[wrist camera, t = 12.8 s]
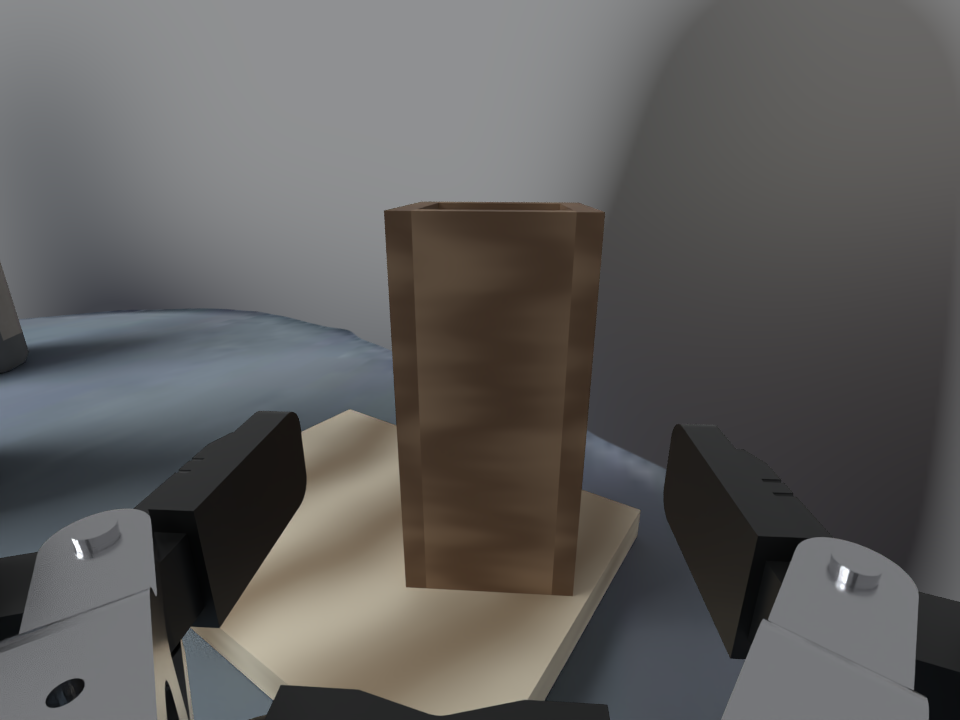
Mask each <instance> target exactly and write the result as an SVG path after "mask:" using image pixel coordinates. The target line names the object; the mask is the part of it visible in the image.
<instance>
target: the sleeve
mask: <svg viewBox="0 0 960 720" xmlns="http://www.w3.org/2000/svg"><path fill="white" fill-rule="evenodd" d="M384 217H385V234H386V253H387V269H388V286H389V302H390V322H391V338H392V356H393V373H394V391H395V408H396V425H397V442H398V460H399V477H400V494H401V511H402V529H403V546H404V563H405V580H406V587H409V588H428V589H446V590H465V591H484V592H502V593H521V594H540V595H558V596H573V587H574V575H575V563H576V552H577V540H578V528H579V516H580V504H581V492H582V480H583V469H584V457H585V445H586V433H587V421H588V409H589V397H590V385H591V374H592V362H593V350H594V338H595V326H596V314H597V302H598V290H599V279H600V267H601V255H602V242H603V231H604V218H605V212H603V211H600V210H597V209H594V208H592V207H589V206H586V205H583V204H581V203H539V202H538V203H535V202H534V203H533V202H531V203H530V202H526V203H525V202H419V203H414V204H410V205H406V206H402V207H397V208H393V209H389V210H385V211H384Z"/></svg>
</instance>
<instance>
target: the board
mask: <svg viewBox="0 0 960 720" xmlns="http://www.w3.org/2000/svg"><path fill="white" fill-rule="evenodd" d="M301 435H302V443H303V451H304V458H305V466H306V474H307V485H306V492H305V496H304V499H303V501H302V504H301V505H300V507H299V508H298V510H297V511H296V513H295V514H294V516H293V518H292V519H291V521H290V522H289V524H288V525H287V527H286V528H285V530H284V531H283V533H282V534H281V536H280V537H279V539H278V540H277V542H276V543H275V545H274V546H273V548H272V549H271V551H270V553H269V554H268V556H267V557H266V559H265V560H264V562H263V563H262V565H261V566H260V568H259V569H258V571H257V572H256V574H255V575H254V577H253V578H252V580H251V581H250V583H249V584H248V586H247V587H246V589H245V591H244V592H243V594H242V595H241V597H240V598H239V600H238V601H237V603H236V604H235V606H234V607H233V609H232V610H231V612H230V613H229V615H228V616H227V618H226V619H225V621H224V622H223V624H222V626H221V627H220V628H205V627H190V628H192V629H193V630H194V631H195V632H196V633H197V634H198V635H200V636H201V637H202V638H203V639H204V640H205V641H206V642H208V643H209V644H210V645H211V646H212V647H213V648H214V649H215V650H217V651H218V652H219V653H220V654H221V655H222V656H223V657H225V658H226V659H227V660H228V661H229V662H230V663H231V664H233V665H234V666H235V667H236V668H237V669H238V670H239V671H240V672H242V673H243V674H244V675H245V676H246V677H247V678H248V679H250V680H251V681H252V682H253V683H254V684H255V685H256V686H258V687H259V688H260V689H261V690H262V691H263V692H264V693H265V694H267V695H268V696H269V697H270V698H271V699H272V700H274V698H275V696H276V694H277V692H278V690H279V687H280V685H293V686H310V687H326V688H342V689H359V690H362V691H365V692H367V693H370V694H373V695H376V696H379V697H382V698H385V699H388V700H390V701H393V702H396V703H399V704H402V705H405V706H408V707H411V708H414V709H416V710H419V711H422V712H425V713H428V714H432V715H438V716H443V715H450V714H455V713H460V712H465V711H470V710H475V709H480V708H485V707H490V706H495V705H500V704H505V703H510V702H515V701H520V700H539V701H544V700H545V699H546V697H547V695H548V693H549V692H550V690H551V688H552V686H553V685H554V683H555V681H556V679H557V677H558V676H559V674H560V672H561V670H562V669H563V667H564V665H565V663H566V661H567V660H568V658H569V656H570V654H571V653H572V651H573V649H574V647H575V645H576V644H577V642H578V640H579V638H580V637H581V635H582V633H583V631H584V629H585V628H586V626H587V624H588V622H589V621H590V619H591V617H592V615H593V613H594V612H595V610H596V608H597V606H598V605H599V603H600V601H601V599H602V597H603V596H604V594H605V592H606V590H607V589H608V587H609V585H610V583H611V581H612V580H613V578H614V576H615V574H616V573H617V571H618V569H619V567H620V566H621V564H622V562H623V560H624V558H625V557H626V555H627V553H628V551H629V550H630V548H631V546H632V544H633V542H634V541H635V539H636V537H637V534H638V526H639V518H640V511H641V510H639V509H636V508H633V507H630V506H627V505H625V504H622V503H619V502H616V501H613V500H610V499H607V498H604V497H601V496H599V495H596V494H593V493H590V492H587V491H584V490H582V492H581V504H580V516H579V528H578V540H577V552H576V563H575V575H574V587H573V596H558V595H540V594H521V593H502V592H484V591H465V590H446V589H428V588H409V587H406V580H405V563H404V546H403V529H402V511H401V494H400V477H399V460H398V442H397V425H394V424H391V423H388V422H385V421H382V420H379V419H376V418H374V417H371V416H368V415H365V414H362V413H359V412H356V411H353V410H350V409H349V410H347V411H345V412H343V413H341V414H339V415H336V416H334V417H332V418H330V419H328V420H326V421H324V422H321V423H319V424H317V425H315V426H313V427H311V428H309V429H306V430H304V431H302V432H301Z"/></svg>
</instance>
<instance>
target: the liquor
mask: <svg viewBox="0 0 960 720" xmlns="http://www.w3.org/2000/svg"><path fill="white" fill-rule="evenodd" d="M28 353H29V351H28V348H27V345H26V341H25V338H24V335H23V332H22V329H21V326H20V323H19V319H18V316H17V313H16V310H15V307H14V304H13V300H12V297H11V294H10V291H9V288H8V285H7V282H6V279H5V275H4V272H3V269H2V266H1V263H0V373H3V372H7V371H9V370H11V369H13V368H15V367H17V366H19V365H20V364H22V363H24V362H25V361H26V358H27V355H28Z"/></svg>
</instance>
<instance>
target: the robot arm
mask: <svg viewBox="0 0 960 720" xmlns="http://www.w3.org/2000/svg"><path fill="white" fill-rule="evenodd" d="M306 485H307V474H306V466H305V458H304V451H303V443H302V435H301V428H300V421H299V418H298V416H297V414H296V413H294V412H277V411H258V412H256V413H255V414H254V415H253V416H251V417H250V418H249V419H248V420H247V421H246V422H245V423H244V424H243V425H241V426H240V427H239V428H238V429H237V430H236V431H235V432H232V433H230V434H228V435H226V436H224V437H222V438H220V439H218V440H216V441H214V442H212V443H210V444H208V445H207V446H206V447H205V448H203V449H202V450H201V451H200V452H199V453H198V454H196V455H195V456H194V457H193V458H192V461H188V462H187V463H186V464H185V465H184V466H182V467H181V468H180V469H179V472H178V473H174V474H173V475H172V476H171V477H170V478H168V479H167V480H166V481H165V482H164V483H163V484H161V485H160V486H159V487H158V488H157V489H156V490H155V491H153V492H152V493H151V494H150V495H149V496H148V497H146V498H145V499H144V500H143V501H142V502H141V503H139V504H138V505H137V506H136V507H135V508H134V509H115V510H109V511H105V512H101V513H97V514H94V515H91V516H88V517H85V518H83V519H80V520H78V521H76V522H74V523H71V524H70V525H68V526H66V527H64V528H62V529H61V530H59V531H58V532H56V533H55V534H54V535H52V536H51V537H50V538H49V539H48V540H47V541H46V542H45V543H44V544H43V545H42V546H41V548H40V549H39V551H38V552H35V553H29V554H22V555H16V556H10V557H4V558H0V720H194V717H193V710H192V702H191V694H190V687H189V679H188V671H187V664H186V656H185V650H184V647H183V643H182V638H183V636H184V635H185V634H186V632H187V631H188V630H189V628H190V627H205V628H220V627H221V626H222V624H223V622H224V621H225V619H226V618H227V616H228V615H229V613H230V612H231V610H232V609H233V607H234V606H235V604H236V603H237V601H238V600H239V598H240V597H241V595H242V594H243V592H244V591H245V589H246V587H247V586H248V584H249V583H250V581H251V580H252V578H253V577H254V575H255V574H256V572H257V571H258V569H259V568H260V566H261V565H262V563H263V562H264V560H265V559H266V557H267V556H268V554H269V553H270V551H271V549H272V548H273V546H274V545H275V543H276V542H277V540H278V539H279V537H280V536H281V534H282V533H283V531H284V530H285V528H286V527H287V525H288V524H289V522H290V521H291V519H292V518H293V516H294V514H295V513H296V511H297V510H298V508H299V507H300V505H301V504H302V501H303V499H304V496H305V492H306ZM664 509H665V514H666V518H667V521H668V523H669V525H670V527H671V529H672V532H673V534H674V536H675V538H676V540H677V543H678V545H679V547H680V549H681V551H682V554H683V556H684V558H685V560H686V562H687V564H688V567H689V569H690V571H691V573H692V575H693V578H694V580H695V582H696V584H697V586H698V589H699V591H700V593H701V595H702V597H703V600H704V602H705V604H706V606H707V608H708V611H709V613H710V615H711V617H712V619H713V621H714V624H715V626H716V628H717V630H718V632H719V635H720V637H721V639H722V641H723V643H724V646H725V648H726V650H727V652H728V654H729V657H730V658H732V659H746V660H745V662H744V665H743V667H742V670H741V672H740V674H739V677H738V679H737V682H736V684H735V687H734V689H733V692H732V694H731V696H730V699H729V701H728V704H727V706H726V709H725V711H724V714H723V716H722V718H721V720H960V602H957V601H954V600H950V599H946V598H942V597H937V596H933V595H929V594H925V593H922V592H918V589H917V588H916V585H915V583H914V582H913V580H912V579H911V577H910V576H909V575H908V574H906V572H905V571H904V570H902V569H901V568H900V567H899V566H898V565H896V564H895V563H893V562H892V561H890V560H889V559H888V558H886V557H884V556H883V555H881V554H879V553H877V552H875V551H873V550H871V549H869V548H866V547H864V546H861V545H859V544H856V543H852V542H849V541H845V540H841V539H835V538H833V537H832V536H831V535H830V533H829V532H828V531H827V530H826V529H825V528H824V527H823V526H822V525H821V524H820V522H819V521H818V520H817V519H816V518H815V517H814V516H813V515H812V513H811V512H810V511H809V510H808V509H807V508H806V507H805V506H804V505H803V503H802V502H801V501H800V500H799V499H798V498H797V497H794V496H793V492H792V491H791V490H790V489H789V488H788V487H787V486H786V485H785V483H781V479H780V478H779V477H778V476H777V475H776V474H775V472H774V471H773V470H772V469H771V468H770V467H769V466H768V465H767V464H766V463H765V462H763V461H762V460H760V459H758V458H757V457H755V456H753V455H752V454H750V453H748V452H747V451H745V450H744V449H736V448H735V447H734V446H733V445H732V444H731V442H730V441H729V440H728V439H727V438H726V437H725V435H724V434H723V433H722V432H721V430H720V429H719V428H718V427H717V426H715V425H697V424H694V425H693V424H677V425H676V426H675V427H674V429H673V432H672V437H671V444H670V450H669V457H668V464H667V471H666V478H665V485H664ZM249 720H610V717H609V711H608V706H607V705H604V704H588V703H572V702H555V701H539V700H520V701H515V702H510V703H505V704H500V705H495V706H490V707H485V708H480V709H475V710H470V711H465V712H460V713H455V714H450V715H443V716H438V715H432V714H428V713H425V712H422V711H419V710H416V709H414V708H411V707H408V706H405V705H402V704H399V703H396V702H393V701H390V700H388V699H385V698H382V697H379V696H376V695H373V694H370V693H367V692H365V691H362V690H359V689H342V688H326V687H310V686H293V685H280V687H279V690H278V692H277V694H276V696H275V698H274V700H273V703H272V705H271V707H270V709H269V711H268V713H267V715H264V716H259V717H256V718H252V719H249Z"/></svg>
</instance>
